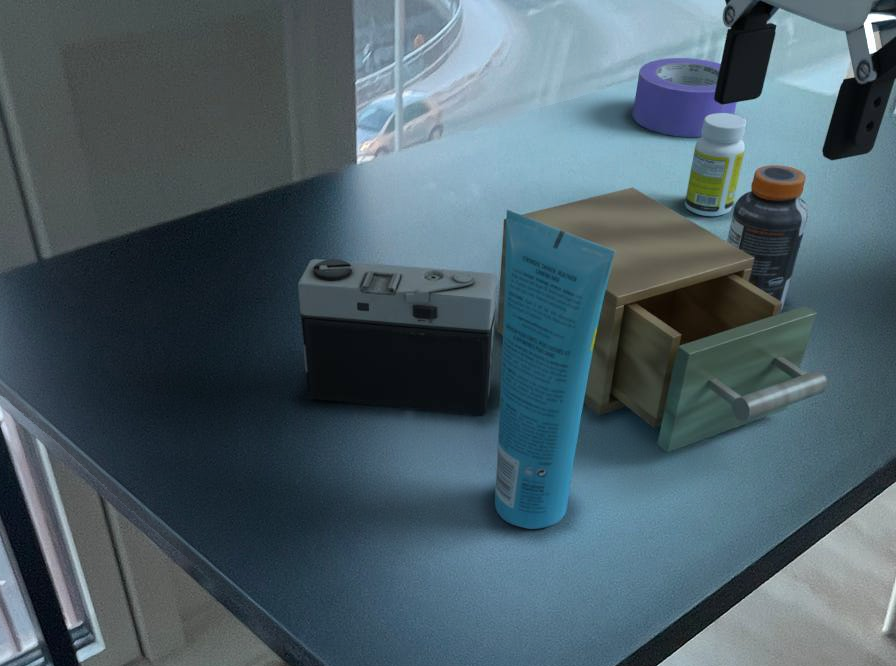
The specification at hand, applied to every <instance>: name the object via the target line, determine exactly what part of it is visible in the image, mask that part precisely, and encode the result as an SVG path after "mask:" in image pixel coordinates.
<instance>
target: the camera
mask: <svg viewBox="0 0 896 666" xmlns="http://www.w3.org/2000/svg"><path fill="white" fill-rule="evenodd" d="M497 283H498V276H497V275H496V273H495V274H494V273H492V272H481V271H468V270H456V269H443V268H433V267H432V268H431V267H421V266H420V267H418V266H406V265H405V266H404V265H394V264H393V265H392V264H381V263H369V262H367V263H366V262H355V261H345V260H342V259H334V258H333V259H332V258H330V259H318V258H314V259H311V260H310V261H309V263H308V264H307V266H306V268H305V270H304V271H303V274H302V275H301V278H300V279H299V280H298V283H297V288H298V298H299V299H298V300H299V310H300V312H299V313H300V320H301V331H302V339H303V344H302V345H303V358H304V369H305V374H306V375H305V376H306V385H307V396H308V397H307V398H308V399H310V400H321V401H328V402H329V401H331V402H339V403H342V402H343V403H352V404H361V405H362V404H363V405H370V406H371V405H373V406H382V407H383V406H384V407H391V408H393V407H394V408H401V409H403V408H404V409H414V410H422V411H423V410H425V411H434V412H445V413H455V414H466V415H477V416H485V415H486V412H487V407H488V404H489V399H490V393H491V384H492V370H493V354H494V353H493V352H494V336H495V320H496V301H497V285H498V284H497Z"/></svg>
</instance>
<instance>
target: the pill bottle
mask: <svg viewBox="0 0 896 666" xmlns="http://www.w3.org/2000/svg"><path fill="white" fill-rule="evenodd" d="M805 183H806V174H805V173H804V172H803V171H801V170H800V169H798V168H795V167H792V166H786V165H779V164H778V165H776V164H771V165H764V166H761V167H760V166H759V167H758V168H757V169H756V170H755V171H754V174H753V178H752V182H751V185H750V187H751V190H750V191H747V192H746V193H744V194H743V195H741V196H740V197H739V198H738V199H737V200H736V202H735V204H734V207H733V212H732V216H731V220H730V225H729V230H728V234H727V239H726V241H727V242H728V243H730V244H732V245H734V246H735V247H737V248H739V249H741V250H742V251H744V252H746V253H748V254H749V255H751V256H753V257H754V262H753V266H752V270H751V274H750V278H749V283H751V284H752V285H754V286H756V287H757V288H759V289H761V290H762V291H764V292H766V293H767V294H769V295H771V296H772V297H774V298H776V299H777V300H779V301H781V302H782V303H783V304H782V308H781V311H782V310H783V308H784V305H785V302H786V298H787V295H788V291H789V287H790V283H791V280H792V276H793V273H794V269H795V266H796V263H797V259H798V258H797V257H798V254H799V251H800V247H801V244H802V240H803V236H804V232H805V229H806V224H807V221H808V218H809V208H808V205H807V203H806V202H805V200H803V199H802V198H801V195H802V194H803V192H804V187H805Z"/></svg>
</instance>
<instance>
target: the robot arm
mask: <svg viewBox="0 0 896 666" xmlns="http://www.w3.org/2000/svg"><path fill="white" fill-rule="evenodd" d="M724 2H725V6H724V9H723V11H722V23H723V24H724V26H725V27H726V28H727V31H726V36H725V41H724V45H723V51H722V55H721V59H720V60H721V61H720V64H721V65H720V70H719V75H718V80H717V85H716V90H715V95H714V100H715V101H716V102H718V103H720V104H722V105H723V104H729V103H735V102H737V103H740V102H746V101H752V100H756V99H758V98H760V97H761V95H762V93H763V90H764V85H765V81H766V76H767V71H768V68H769V63H770V60H771V55H772V50H773V46H774V42H775V38H776V33H777V32H776V30H777V24H775V23H773V22H769V23H768V21H770V19H772V18H773V16H774V15H775V14H776V13H777V12H778V11H779V10H783V11H784V12H785V11H786V12H788V13H789V14H790V13H791V14H793V15H796V16H798V17H800V18H803V19H806V20H808V21H811V22H814V23H816V24H819V25H822V26H824V27H827V28H829V29H833V30H837V31H840V32H845V35H846V36H845V37H846V41H847V46H848V47H847V48H848V51H849V57H850V61H851V66H852V72H853V77H847V78H843V80H842V82H841V84H840V86H839V90H838V93H837V97H836V100H835V104H834V107H833V111H832V114H831V118H830V122H829V124H828V125H829V126H828V128H827V132H826V135H825V140H824V143H823V145H822V156H823V158H826V159H828V160H829V161H838V160H841V159H847V158H851V157H858V156H862V155H866V154H869V153H870V152H871V151H872V150H873V148H874V146H875V143H876V140H877V137H878V134H879V132H880V128H881V126H882V122H883V117H885V116H884V115H885V112H886V109H887V107H888V103H889V101H890V100H889V99H890V96H891V94H892V91H893V87H894V84H895V81H896V0H724ZM875 32H878V35H879V40H880V45H881V47H880V48H879V49H877V45H876V40H875V35H874V33H875Z"/></svg>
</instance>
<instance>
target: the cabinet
mask: <svg viewBox="0 0 896 666" xmlns="http://www.w3.org/2000/svg"><path fill="white" fill-rule="evenodd" d="M521 215H523V216H525V217H529V218H531V219H534V220H537V221H539V222H542V223H544V224H546V225H549V226H551V227H554V228H557V229H559V230H561V231H563V232H567V233H569V234H572V235H574V236H577V237H580V238H583V239H585V240H588V241H591V242H593V243H596V244H599V245H602V246H604V247H607V248H610V249H613V250H615V251H616V253H615V256H614V258H613V262H612V267H611V271H610V275H609V279H608V282H607V286H606V290H605V294H604V299H603V303H602V308H601V313H600V317H599V322H598V327H597V332H596V337H595V342H594V347H593V352H592V358H591V363H590V368H589V374H588V379H587V385H586V390H585V396H584V402H583V405H586V407H588V408H589V409H590V410H591V411H593V412H594V413H595V414H596V415H598V416H601V415H605V414H609V413H610V412H614V411H617V410H619V409H623V408H625V407H627V406H626V405H625V404H623V403H622V402H621V401H619V400H618V399H617V398H616V397H614V396H613V395H612V394H611V393H610V391H611V385H612V378H613V372H614V366H615V360H616V353H617V347H618V341H619V335H620V328H621V322H622V316H623V310H624V305H626V304H629V303H633V302H636V301H639V300H643V299H646V298H650V297H653V296H656V295H660V294H663V293H667V292H670V291H674V290H677V289H680V288H684V287H687V286H691V285H694V284H697V283H701V282H704V281H708V280H711V279H714V278H718V277H721V276H725V275H728V274H731V273H734V274H736V275H737V276H739V277H741V278H742V279H744V280H746V281H747V282H749V278H750V274H751V270H752V266H753V262H754V257H753V256H751V255H749V254H748V253H746V252H744V251H742V250H741V249H739V248H737V247H735V246H734V245H732V244H730V243H728V242H727V240H725V239H723V238H722V237H720V236H718V235H716V234H715V233H713V232H711V231H709V230H708V229H706V228H704V227H702V226H700V225H699V224H697V223H695V222H694V221H692V220H690V219H688V218H687V217H685V216H683V215H681V214H680V213H679V212H676V211H675V210H673V209H671V208H669V207H668V206H666V205H664V204H663V203H661V202H659V201H657V200H656V199H653V198H652V197H650V196H649V195H647V194H645V193H643V192H641V191H640V190H638V189H636V188H634V187H629V188H625V189H620V190H617V191H613V192H607V193H604V194H600V195H596V196H592V197H588V198H584V199H580V200H576V201H571V202H566V203H564V204H559V205H555V206H551V207H547V208H543V209H539V210H536V211H531V212H527V213H522V214H521ZM501 246H502V247H501V258H500V259H501V260H500V262H501V263H500V273H499V274H500V275H499V291H498V307H497V321H496V332H497V333H498V334H499V335H500V336H502V337H503V324H504V296H505V253H506V218H504V219H503V229H502V245H501Z"/></svg>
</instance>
